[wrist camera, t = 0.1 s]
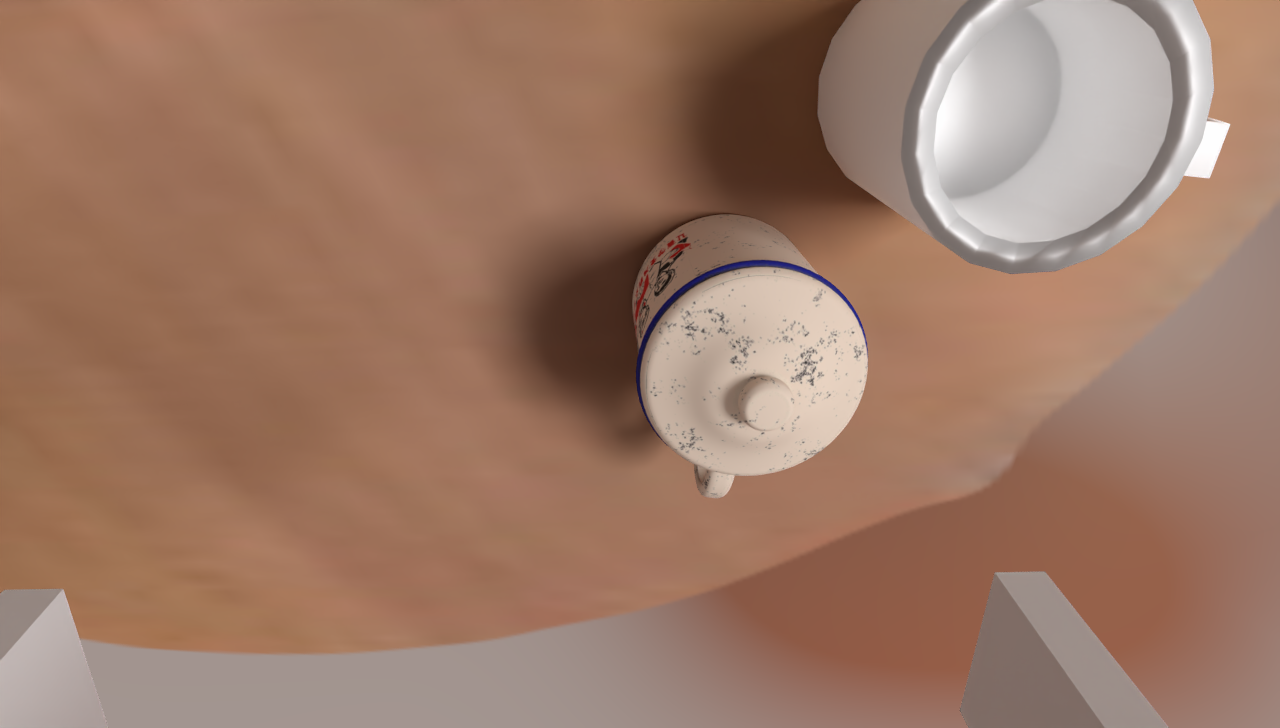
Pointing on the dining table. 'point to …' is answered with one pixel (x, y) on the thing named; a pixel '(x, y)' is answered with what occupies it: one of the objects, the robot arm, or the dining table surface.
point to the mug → (1021, 119)
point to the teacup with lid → (743, 350)
